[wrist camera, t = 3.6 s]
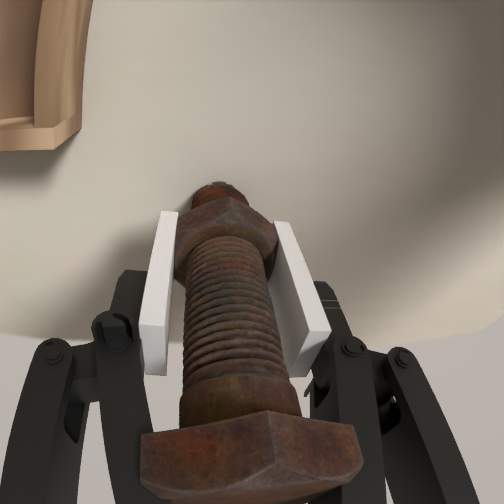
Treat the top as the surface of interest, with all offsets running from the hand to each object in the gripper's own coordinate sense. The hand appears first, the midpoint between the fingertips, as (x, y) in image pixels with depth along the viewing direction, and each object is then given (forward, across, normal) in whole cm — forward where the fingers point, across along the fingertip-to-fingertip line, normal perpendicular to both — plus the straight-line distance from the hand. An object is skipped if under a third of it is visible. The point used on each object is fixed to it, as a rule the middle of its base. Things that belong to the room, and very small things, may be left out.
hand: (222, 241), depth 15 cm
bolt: (+4, 0, 0) cm, 4 cm away
